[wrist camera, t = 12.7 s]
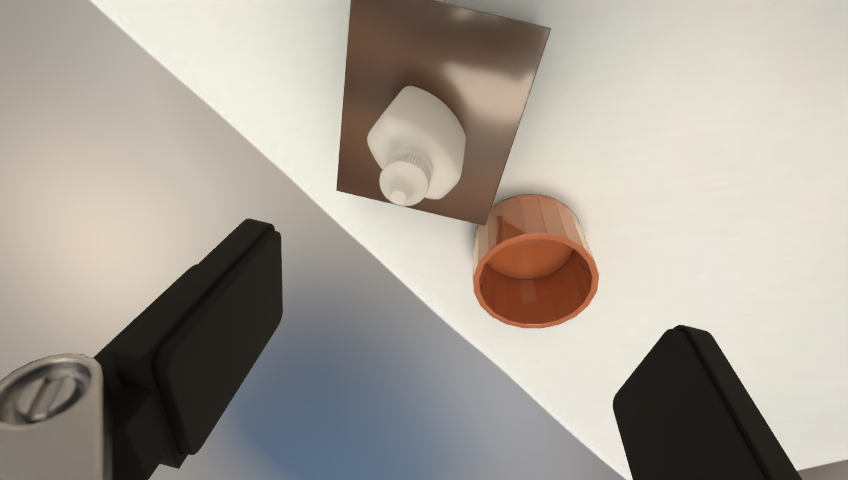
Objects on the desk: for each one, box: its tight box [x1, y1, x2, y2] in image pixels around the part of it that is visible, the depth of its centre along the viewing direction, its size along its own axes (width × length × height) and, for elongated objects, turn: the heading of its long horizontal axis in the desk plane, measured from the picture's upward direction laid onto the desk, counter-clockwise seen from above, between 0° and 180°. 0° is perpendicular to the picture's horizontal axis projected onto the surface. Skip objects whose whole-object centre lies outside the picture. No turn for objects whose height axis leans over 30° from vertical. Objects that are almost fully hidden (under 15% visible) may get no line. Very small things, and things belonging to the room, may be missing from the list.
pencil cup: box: [473, 195, 599, 328], centre depth 34 cm, size 10×10×6 cm
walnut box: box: [337, 0, 551, 226], centre depth 29 cm, size 14×12×4 cm
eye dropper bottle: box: [367, 86, 466, 206], centre depth 23 cm, size 4×6×12 cm
